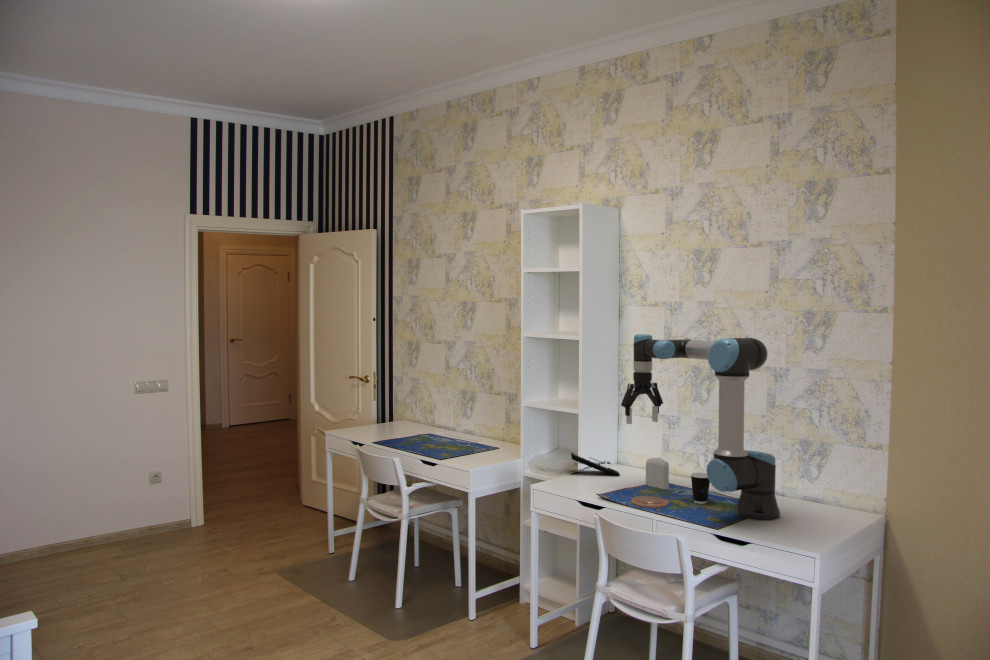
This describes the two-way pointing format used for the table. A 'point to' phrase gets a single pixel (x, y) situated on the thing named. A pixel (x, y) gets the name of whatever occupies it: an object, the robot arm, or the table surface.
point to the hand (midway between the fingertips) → (642, 422)
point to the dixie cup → (700, 487)
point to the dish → (650, 501)
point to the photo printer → (657, 473)
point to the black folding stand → (594, 465)
